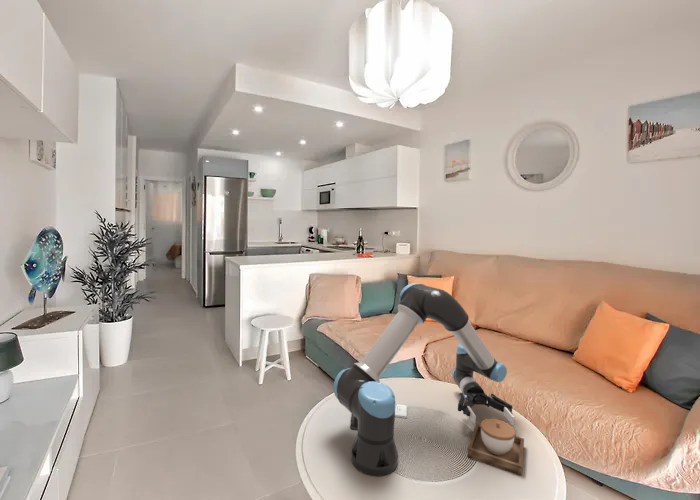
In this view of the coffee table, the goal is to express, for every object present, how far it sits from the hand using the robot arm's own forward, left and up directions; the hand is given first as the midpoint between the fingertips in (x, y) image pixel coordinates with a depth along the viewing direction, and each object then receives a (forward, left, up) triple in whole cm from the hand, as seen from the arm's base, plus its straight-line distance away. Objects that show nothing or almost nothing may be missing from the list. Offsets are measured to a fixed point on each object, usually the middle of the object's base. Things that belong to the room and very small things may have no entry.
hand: (494, 420), depth 119 cm
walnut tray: (+2, -4, -9) cm, 10 cm away
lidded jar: (+2, -4, -8) cm, 9 cm away
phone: (-46, -11, -9) cm, 49 cm away
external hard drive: (-38, 0, -9) cm, 40 cm away
